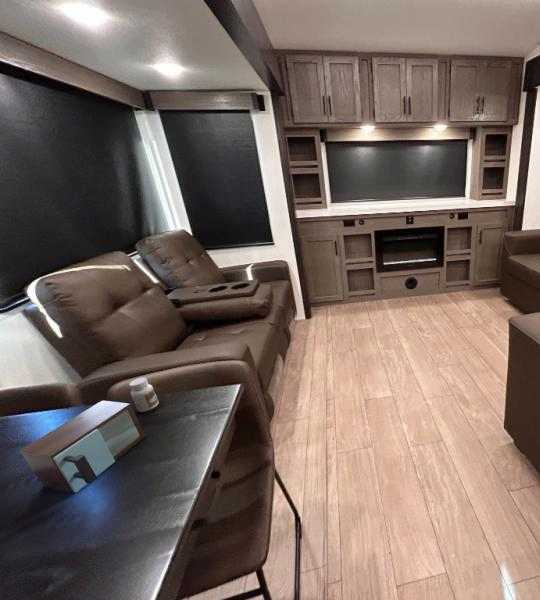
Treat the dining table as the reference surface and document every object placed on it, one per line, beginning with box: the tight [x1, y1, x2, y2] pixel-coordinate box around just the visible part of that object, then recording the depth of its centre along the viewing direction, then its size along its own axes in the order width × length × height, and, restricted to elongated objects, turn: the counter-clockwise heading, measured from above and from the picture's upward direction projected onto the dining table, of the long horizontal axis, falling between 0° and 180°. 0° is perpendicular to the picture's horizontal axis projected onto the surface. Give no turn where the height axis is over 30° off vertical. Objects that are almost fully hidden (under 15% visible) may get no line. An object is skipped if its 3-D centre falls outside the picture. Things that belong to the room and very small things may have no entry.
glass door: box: [53, 429, 116, 493], centre depth 60 cm, size 5×7×8 cm
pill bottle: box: [128, 377, 160, 413], centre depth 80 cm, size 4×4×8 cm
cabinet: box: [19, 400, 146, 494], centre depth 64 cm, size 8×14×9 cm, turn 166°
